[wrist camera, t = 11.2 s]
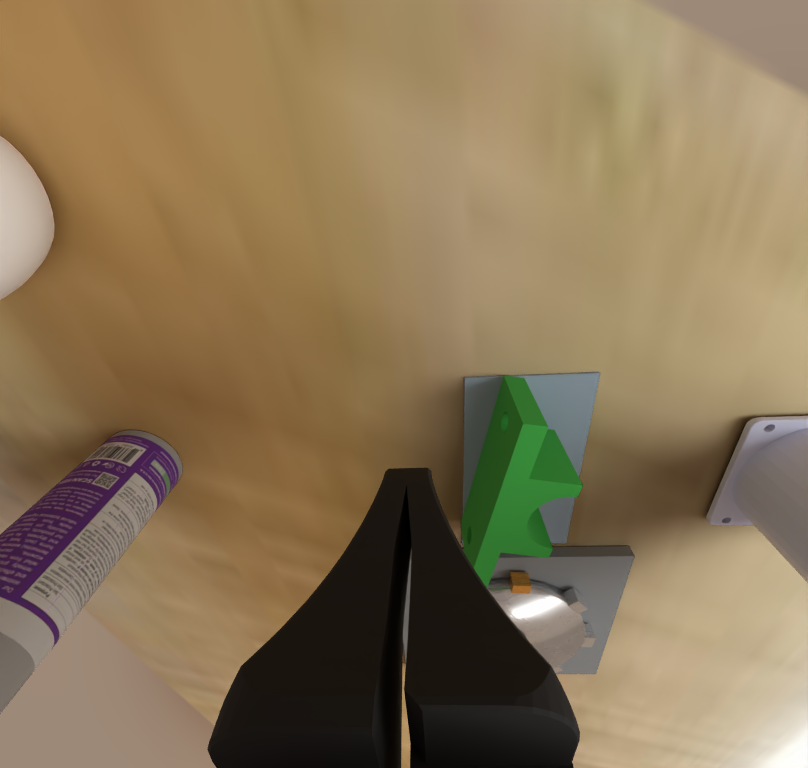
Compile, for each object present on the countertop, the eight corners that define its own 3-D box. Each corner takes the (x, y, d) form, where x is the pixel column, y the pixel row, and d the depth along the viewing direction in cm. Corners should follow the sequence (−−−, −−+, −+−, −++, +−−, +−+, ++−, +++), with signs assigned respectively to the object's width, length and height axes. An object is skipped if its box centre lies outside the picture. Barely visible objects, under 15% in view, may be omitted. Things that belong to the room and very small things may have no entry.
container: (94, 462, 25) (-263, 793, 12) (122, 415, 23) (-265, 746, 10) (164, 499, 26) (-87, 832, 13) (195, 457, 25) (-60, 795, 11)
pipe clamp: (515, 527, 27) (532, 593, 23) (460, 521, 26) (467, 585, 22) (573, 383, 21) (608, 436, 17) (503, 374, 21) (523, 425, 17)
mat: (598, 370, 21) (600, 373, 21) (564, 539, 27) (565, 543, 27) (464, 375, 21) (464, 378, 21) (461, 540, 28) (462, 544, 27)
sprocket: (525, 546, 26) (544, 615, 22) (623, 630, 30) (654, 700, 26) (390, 620, 30) (385, 688, 26) (491, 684, 35) (500, 751, 31)
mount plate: (629, 545, 27) (634, 556, 26) (592, 663, 34) (595, 674, 34) (394, 549, 28) (394, 559, 27) (406, 663, 35) (406, 673, 35)
